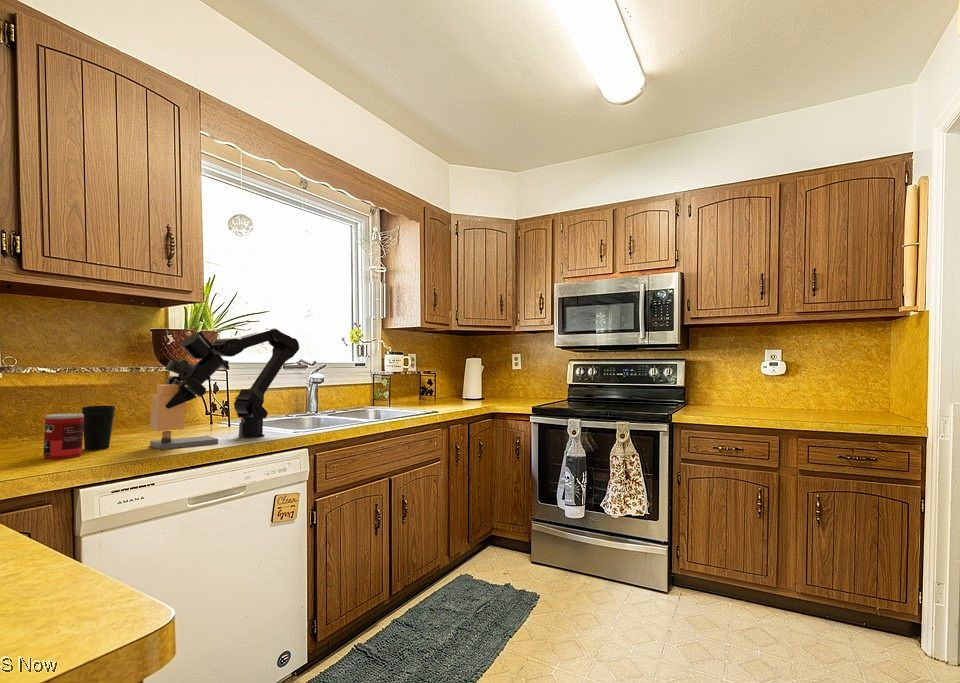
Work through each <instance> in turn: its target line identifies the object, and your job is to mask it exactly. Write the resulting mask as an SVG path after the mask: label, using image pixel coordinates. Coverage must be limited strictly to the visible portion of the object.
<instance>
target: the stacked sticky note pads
mask: <svg viewBox="0 0 960 683" xmlns="http://www.w3.org/2000/svg"><path fill="white" fill-rule="evenodd" d="M177 392H178V385H176V384H171V385H167V384H156V394H151V409H150V429H151V430H153V431H157V432H160V431H161V432H163V431H173V430H183V429H185V407H186V406H185V405H186V402H184V403H181V404H179V405H177V406H174V407H172V408H169V409H168V408H166V405H167V404H168V402H169V401H170V400H171V399H172V397H173V396H174V395H175V394H176V393H177Z"/></svg>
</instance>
